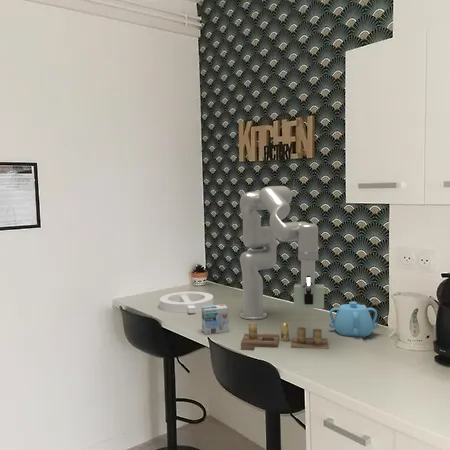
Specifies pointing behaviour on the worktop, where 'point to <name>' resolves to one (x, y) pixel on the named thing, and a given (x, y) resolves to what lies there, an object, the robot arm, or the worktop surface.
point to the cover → (317, 296)
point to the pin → (284, 331)
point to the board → (309, 340)
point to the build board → (258, 339)
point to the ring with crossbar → (185, 302)
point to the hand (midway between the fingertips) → (308, 301)
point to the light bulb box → (215, 319)
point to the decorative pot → (353, 320)
